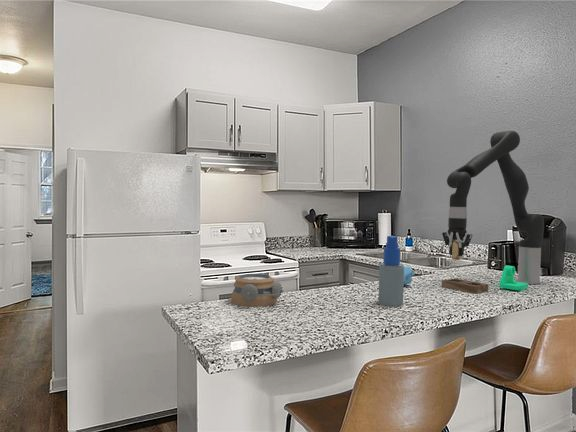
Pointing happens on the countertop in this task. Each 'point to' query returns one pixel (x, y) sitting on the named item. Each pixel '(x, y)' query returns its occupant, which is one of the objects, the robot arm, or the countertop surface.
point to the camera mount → (511, 280)
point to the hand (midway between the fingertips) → (456, 255)
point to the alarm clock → (255, 290)
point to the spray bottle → (391, 275)
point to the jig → (465, 285)
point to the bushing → (455, 250)
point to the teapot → (407, 275)
